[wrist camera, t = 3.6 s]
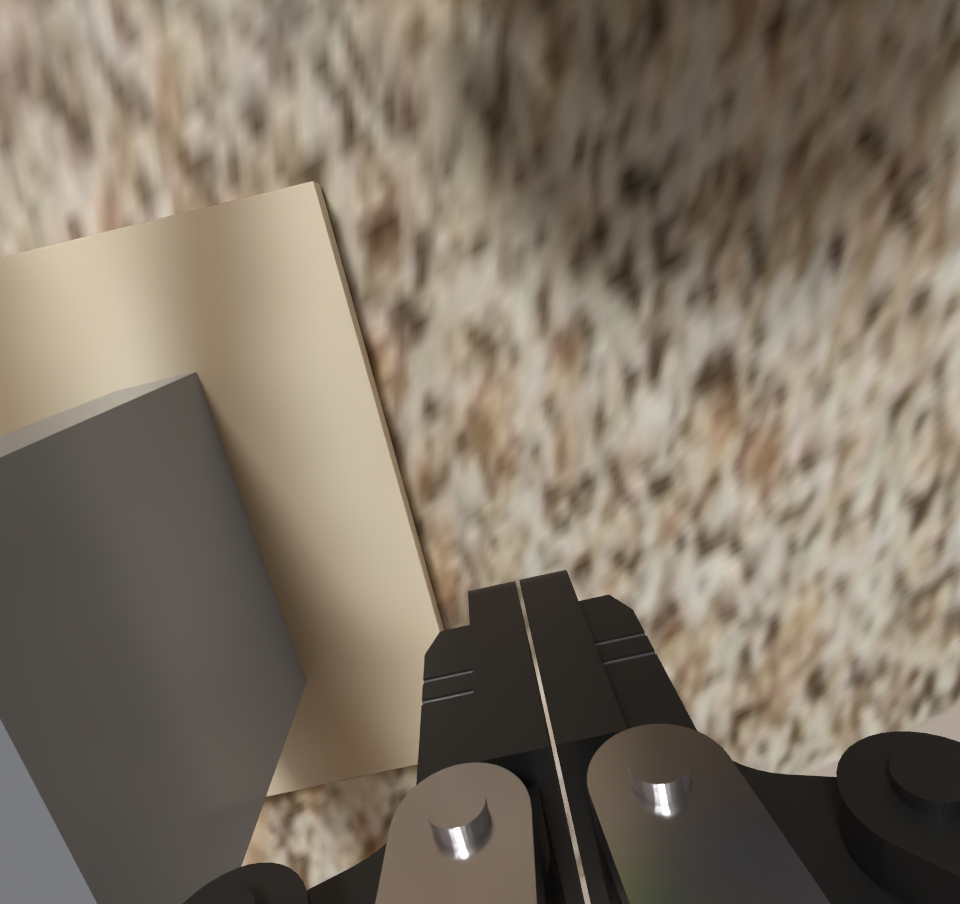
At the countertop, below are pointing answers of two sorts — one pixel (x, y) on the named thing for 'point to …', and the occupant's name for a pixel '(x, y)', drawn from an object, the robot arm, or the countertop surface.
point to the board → (256, 437)
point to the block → (133, 654)
